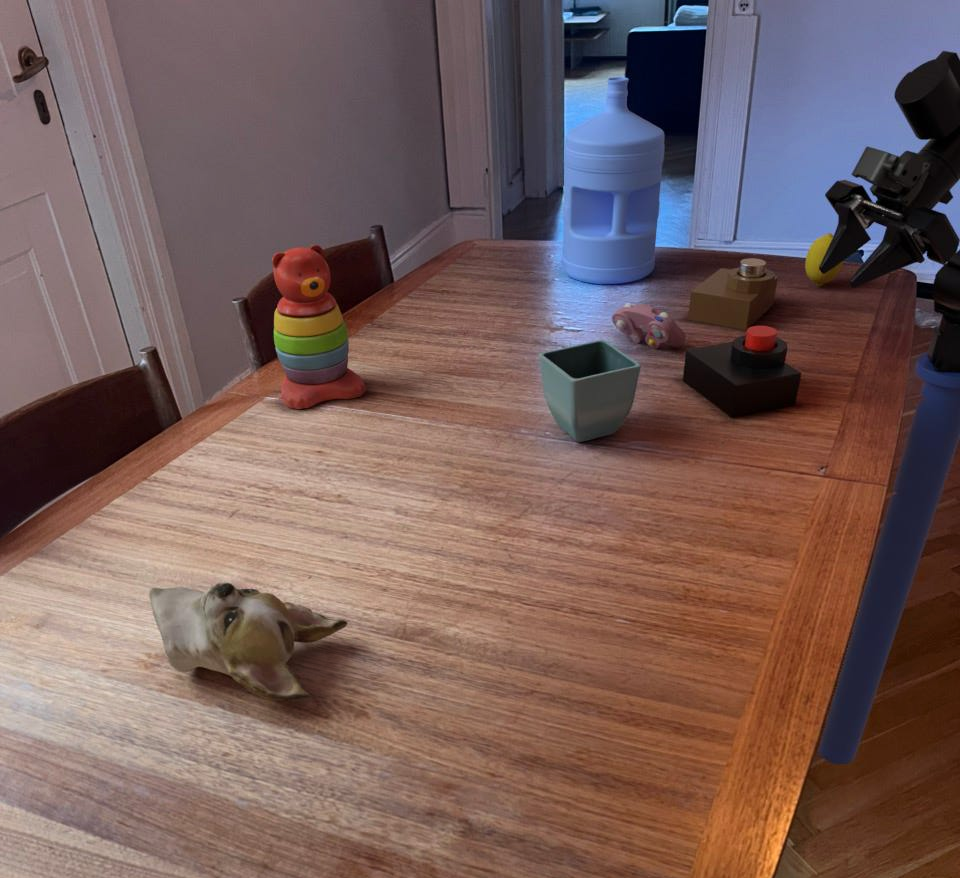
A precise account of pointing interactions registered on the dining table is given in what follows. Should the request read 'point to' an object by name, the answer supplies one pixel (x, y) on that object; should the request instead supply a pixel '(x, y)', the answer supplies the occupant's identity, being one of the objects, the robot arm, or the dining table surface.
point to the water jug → (611, 193)
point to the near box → (742, 377)
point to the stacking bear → (310, 332)
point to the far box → (732, 299)
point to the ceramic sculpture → (238, 635)
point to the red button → (761, 338)
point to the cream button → (752, 268)
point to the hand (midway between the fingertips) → (835, 278)
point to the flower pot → (589, 388)
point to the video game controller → (648, 325)
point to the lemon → (815, 259)
